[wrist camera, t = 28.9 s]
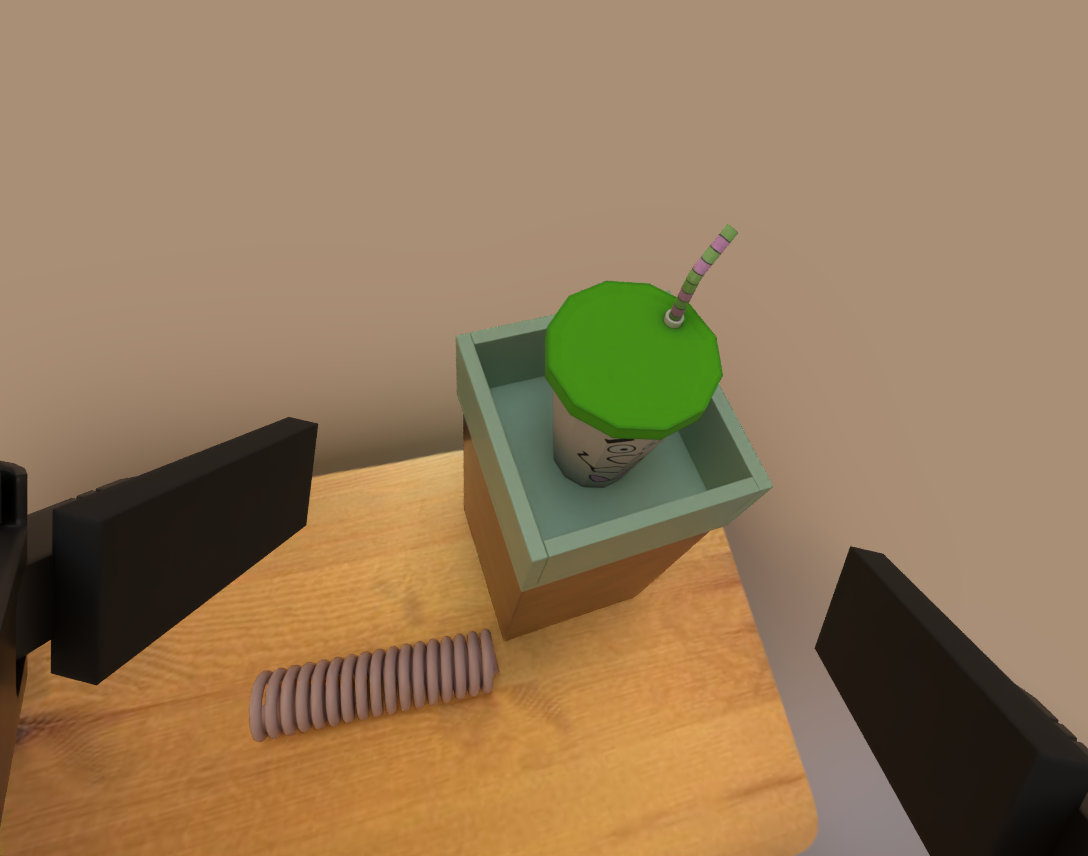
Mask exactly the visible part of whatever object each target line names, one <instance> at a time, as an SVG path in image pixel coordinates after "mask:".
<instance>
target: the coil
mask: <svg viewBox="0 0 1088 856" xmlns="http://www.w3.org/2000/svg"><path fill="white" fill-rule="evenodd" d="M480 636H481V647H480V642H479V638H478V634H477V633H476V632H474V631H471V632H469V634H468V636H467V643H466V639H465V637H464V635H462V634H457V635H456V636H455V638H454V645H453V641H452V639H451V638H450V637H448V636H445V637H443V638H442V640H441V647H440V644H439V642H438V640H436V639H431V640H429V642H428V644H427V647H426V645H425V643H424V642H422V641H418V642H417V643H416V644H415V646H414V649H413V648H412V646H411V645H410V644H404V645H403V646H402V647H401V649H400V651H399V649H398V648H397V647H395V646H393V647H390V648H389V649H388V650H387V653H386V652H385V651H384V650H382V649H377V650H376V651H375V652H374V653H373V656H372V654H371V653H369V652H363V653H361V654H360V656H359V658H358V656H356V655H354V654H351V655H349V656H347V657H346V659H345V660H344V659H343V658H341V657H335V658H334V659H333V660H332V661H331V662H330V661H328V660H321V661H319V662H318V663H317V665H316V664H315V663H312V662H309V663H306V664H305V665H303V667H301V666H299V665H293V666H291V667H290V668H289V669H288V670H287V669H285V668H278V669H277V670H275V671H274V672H271V671H263V672H262V673H260V674H259V675H258V676H257V678H256V680H255V682H254V684H253V687H252V691H251V696H250V704H249V724H250V731H251V734H252V737H253V739H254V740H255V741H257V742H262V741H264V740H265V739H266V737H267V736H268V735H269V737H271V738H272V739H277V738H278V737H280V736H281V734H282V732H283V731H284V733H285V734H286V735H288V736H290V735H293V734H295V732H296V731H297V729H298V728H299V730H300V731H301V732H308V731H309V730H310V729H311V727H312V723H313V725H314V727H315V728H316V729H322V728H324V727H325V725H326V722H327V719H328V722H329V724H330V725H331V726H337V725H338V724H339V723H340V721H341V711H342V717H343V720H344V722H346V723H351V722H353V720H354V719H355V699H354V690H353V684H352V676H353V674H354V679H355V698H356V710H357V715H358V718H359V719H361V720H365V719H367V718H368V716H369V699H368V691H367V674H368V678H369V684H370V701H371V710H372V714H373V716H375V717H379V716H381V715H382V713H383V700H382V692H381V674H382V679H383V684H384V691H385V704H386V710H387V713H389V714H394V713H395V712H396V710H397V701H396V682H395V675H396V680H397V686H398V692H399V699H400V707H401V710H403V711H408V710H409V709H410V707H411V695H410V682H411V687H412V694H413V700H414V705H415V707H417V708H422V707H423V706H424V704H425V690H424V684H425V689H426V695H427V700H428V702H429V704H430V705H436V704H437V703H438V701H439V690H440V695H441V698H442V700H443V701H444V702H449V701H451V699H452V692H453V691H454V694H455V697H456V698H457V699H463V698H464V697H465V695H466V688H467V691H468V693H469V695H470V696H472V697H475V696H477V695H478V693H479V691H480V688H481V690H482V692H483V693H485V694H489V693H490V692H491V691H492V689H493V676H494V675H497V674H498V673H499V668H498V664H497V660H496V656H495V652H494V647H493V642H492V637H491V633H490V631H489V630H488V629H483V630H482V631H481V633H480ZM467 644H468V648H467ZM481 650H482V652H481ZM338 674H339V676H340V680H341V692H340V691H339V685H338ZM324 675H325V678H326V692H325V686H324V682H323V680H324ZM310 677H311V680H312V683H311V688H310V684H309V678H310ZM295 678H296V680H297V686H295V683H294V682H295ZM281 681H282V688H281V686H280V682H281ZM266 683H267V690H266V696H265V705H262V698H263V692H264V688H265V685H266ZM438 686H439V687H438ZM452 687H453V688H452ZM340 694H341V699H340Z"/></svg>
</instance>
